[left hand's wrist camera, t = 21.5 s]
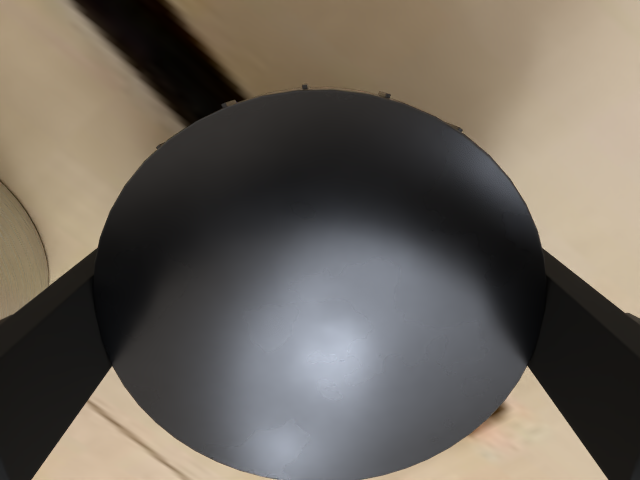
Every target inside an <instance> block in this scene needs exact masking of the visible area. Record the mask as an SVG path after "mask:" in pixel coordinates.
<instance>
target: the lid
mask: <svg viewBox="0 0 640 480" xmlns="http://www.w3.org/2000/svg"><path fill="white" fill-rule="evenodd" d="M390 96H391V95H390V94H387V93H384V92H381V91H379V94H378V95H376V94H372V93H368V92H365V91H359V90H351V89H343V88H335V87H309V84H303V85H302V88H295V89H289V90H282V91H276V92H270V93H266V94H263V95H260V96H257V97H253V98H250V99H247V100H244V101H240V102H238V103H236V101H235V100H233V101H230V102H226V103H224V104H222V107H223V108H222V109H220V110H218V111H216V112H214V113H212V114H210V115H208V116H205V117H203V118H201V119H199V120H197V121H195V122H194V123H192V124H191V125H189V126H188V127H186V128H185V129H183V130H182V131H180V132H179V133H177V134H176V135H174V136H173V137H171V138H170V139H168V140H167V141H166V142H164V143H162V144H160V145H158V146H157V147H156V148H157V150H156V151H155V152H154V153H153V154H152V155H151V156H149V157H148V158H147V159H146V160H145V161H144V162H143V163H142V165H141V166H140V167H139V168H138V170H137V171H136V172H135V173H134V175H133V176H132V177H131V178H130V180H129V181H128V182H127V183H126V184H125V186H124V188H123V189H122V191H121V193H120V195H119V196H118V198H117V200H116V202H115V203H114V205H113V207H112V208H111V210H110V213H109V215H108V218H107V220H106V223H105V226H104V228H103V231H102V233H101V236H100V240H99V244H98V249H97V254H96V259H95V264H94V280H93V297H94V306H95V315H96V319H97V323H98V327H99V332H100V336H101V340H102V343H103V345H104V348H105V350H106V353H107V355H108V357H109V360H110V362H111V365H112V366H113V368H114V370H115V371H116V373H117V375H118V377H119V378H120V380H121V382H122V383H123V385H124V387H125V388H126V389H127V390H128V392H129V393H130V394H131V396H132V397H133V398H134V400H135V401H136V402H137V403H138V405H139V406H140V407H141V408H142V409H143V410H144V411H145V412H146V413H147V414H148V415H149V416H150V417H151V418H152V419H153V420H154V421H155V422H156V423H157V424H158V425H160V426H161V427H162V428H163V429H164V430H166V431H167V432H168V433H169V434H171V435H172V436H173V437H174V438H176V439H177V440H179V441H181V442H182V443H184V444H185V445H187V446H188V447H190V448H191V449H193V450H195V451H196V452H198V453H200V454H202V455H204V456H206V457H208V458H210V459H212V460H214V461H216V462H219V463H221V464H224V465H226V466H229V467H232V468H234V469H237V470H240V471H243V472H247V473H250V474H254V475H258V476H261V477H266V478H272V479H278V480H363V479H368V478H373V477H378V476H382V475H386V474H389V473H393V472H396V471H399V470H402V469H406V468H408V467H411V466H413V465H416V464H418V463H420V462H423V461H425V460H428V459H430V458H432V457H433V456H435V455H437V454H439V453H441V452H443V451H445V450H446V449H448V448H450V447H452V446H453V445H454V444H456V443H457V442H459V441H460V440H462V439H463V438H465V437H466V436H468V435H469V434H470V433H472V432H473V431H474V430H475V429H476V428H477V427H479V426H480V425H481V424H482V423H483V422H484V421H486V420H487V419H488V418H489V417H490V416H491V415H492V414H493V413H494V412H495V410H496V409H497V408H498V407H499V406H500V405H501V404H502V403H503V402H504V401H505V399H506V398H507V397H508V395H509V394H510V392H511V391H512V390H513V388H514V387H515V386H516V384H517V383H518V381H519V380H520V378H521V376H522V374H523V372H524V371H525V369H526V367H527V365H528V363H529V361H530V359H531V357H532V354H533V352H534V349H535V346H536V344H537V341H538V338H539V334H540V330H541V325H542V321H543V317H544V312H545V304H546V288H547V282H546V271H545V259H544V254H543V250H542V246H541V242H540V238H539V234H538V230H537V228H536V226H535V223H534V221H533V219H532V216H531V214H530V212H529V209H528V207H527V205H526V203H525V201H524V200H523V198H522V197H521V195H520V193H519V192H518V190H517V189H516V187H515V186H514V184H513V182H512V181H511V179H510V178H509V177H508V176H507V175H506V173H505V172H504V171H503V170H502V169H501V168H500V167H499V165H498V164H497V163H496V162H495V161H494V160H493V159H492V157H491V156H490V155H489V154H487V153H486V152H485V151H484V150H483V149H482V148H480V147H479V146H478V145H477V144H476V143H474V142H473V141H472V140H471V139H470V138H468V137H467V136H466V135H465V134H463V133H462V131H463V130H462V129H461V128H459V127H457V126H454V125H452V124H449V123H446V122H444V121H442V120H440V119H439V118H437V117H435V116H433V115H431V114H428V113H426V112H424V111H421V110H419V109H417V108H414V107H412V106H410V105H407V104H405V103H402V102H400V101H397V100H394V99H391V98H390Z"/></svg>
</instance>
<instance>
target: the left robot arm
mask: <svg viewBox="0 0 640 480" xmlns="http://www.w3.org/2000/svg"><path fill="white" fill-rule="evenodd" d="M97 249H98V248H97ZM97 249H96V250H94V251H93V252H92V253H90V254H89V255H88V256H87V257H85V258H84V259H83V260H82V261H80V262H79V263H78V264H76V265H75V266H74V267H73V268H71V269H70V270H69V271H68V272H66V273H65V274H64V275H63V276H61V277H60V278H59V279H57V280H56V281H55V282H54V283H52V284H51V285H50V286H49V287H47V288H46V289H45V290H43V291H42V292H41V293H40V294H38V295H37V296H36V297H35V298H33V299H32V300H31V301H29V302H28V303H27V304H26V305H24V306H23V307H22V308H21V309H19V310H18V311H17V312H15V313H14V314H13V315H9V316H7V317H5V318H3V319H1V320H0V480H31V479H32V478H33V477H34V475H35V474H36V472H37V471H38V470H39V468H40V467H41V465H42V464H43V463H44V461H45V460H46V458H47V457H48V455H49V454H50V453H51V451H52V450H53V448H54V447H55V446H56V444H57V443H58V441H59V440H60V439H61V437H62V436H63V434H64V433H65V432H66V430H67V429H68V427H69V426H70V424H71V423H72V422H73V420H74V419H75V417H76V416H77V415H78V413H79V412H80V410H81V409H82V408H83V406H84V405H85V403H86V402H87V400H88V399H89V398H90V396H91V395H92V393H93V392H94V391H95V389H96V388H97V386H98V385H99V384H100V382H101V381H102V379H103V378H104V377H105V375H106V374H107V372H108V371H109V369H110V368H111V367H112V365H111V362H110V360H109V357H108V355H107V353H106V350H105V348H104V345H103V343H102V340H101V336H100V332H99V327H98V323H97V319H96V315H95V306H94V297H93V280H94V264H95V259H96V254H97ZM542 250H543V254H544V259H545V271H546V282H547V288H546V304H545V312H544V317H543V321H542V325H541V330H540V334H539V338H538V341H537V344H536V346H535V349H534V352H533V354H532V357H531V359H530V361H529V363H528V365H527V366H528V367H529V368H530V370H531V371H532V373H533V374H534V375H535V377H536V378H537V380H538V381H539V383H540V384H541V385H542V387H543V388H544V390H545V391H546V392H547V394H548V395H549V397H550V398H551V399H552V401H553V402H554V404H555V405H556V407H557V408H558V409H559V411H560V412H561V414H562V415H563V416H564V418H565V419H566V421H567V422H568V423H569V425H570V426H571V428H572V429H573V431H574V432H575V433H576V435H577V436H578V438H579V439H580V440H581V442H582V443H583V445H584V446H585V447H586V449H587V450H588V452H589V453H590V454H591V456H592V457H593V459H594V460H595V462H596V463H597V464H598V466H599V467H600V469H601V470H602V471H603V473H604V474H605V476H606V477H607V478H608V480H640V318H638V317H636V316H634V315H632V314H630V313H624V312H623V311H622V310H620V309H619V308H618V307H617V306H615V305H614V304H613V303H611V302H610V301H609V300H608V299H606V298H605V297H604V296H603V295H601V294H600V293H599V292H598V291H596V290H595V289H594V288H592V287H591V286H590V285H589V284H587V283H586V282H585V281H584V280H582V279H581V278H580V277H578V276H577V275H576V274H575V273H573V272H572V271H571V270H570V269H568V268H567V267H566V266H564V265H563V264H562V263H561V262H559V261H558V260H557V259H556V258H554V257H553V256H552V255H551V254H549V253H548V252H547V251H545V250H544V249H543V248H542Z"/></svg>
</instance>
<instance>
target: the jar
mask: <svg viewBox="0 0 640 480" xmlns="http://www.w3.org/2000/svg"><path fill="white" fill-rule="evenodd" d="M47 287H48V265H47V258H46V255H45V251H44V248H43V244H42V242H41V239H40V237H39V235H38V232H37V230H36V228H35V226H34V224H33V223H32V221H31V219H30V217H29V216H28V214H27V212H26V211H25V210H24V208H23V207H22V206H21V204H20V203H19V201H18V200H17V199H16V198H15V197H14V195H13V194H12V193H11V192H10V191H9V190H8V189H7V188H6V186H5V185H4V184H2V183H1V182H0V320H1V319H3V318H5V317H7V316H9V315H13V314H14V313H15V312H17V311H18V310H19V309H21V308H22V307H23V306H24V305H26V304H27V303H28V302H29V301H31V300H32V299H33V298H35V297H36V296H37V295H38V294H40V293H41V292H42V291H43V290H45V289H46V288H47Z"/></svg>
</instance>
